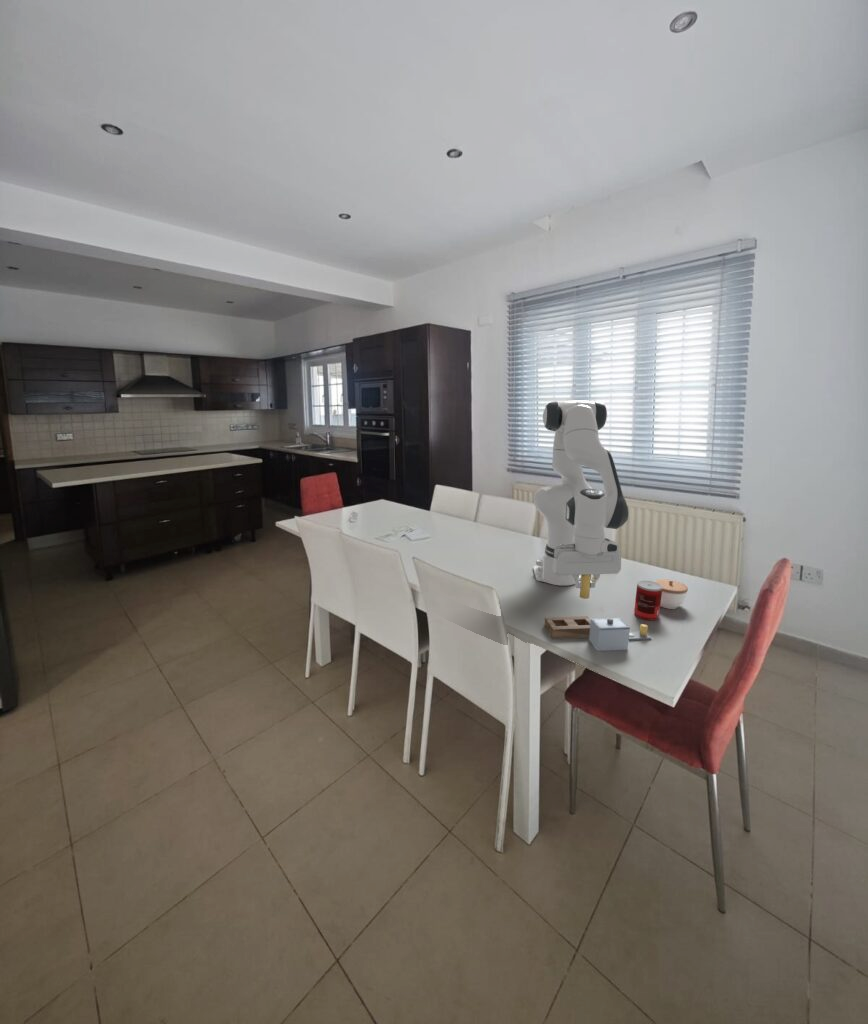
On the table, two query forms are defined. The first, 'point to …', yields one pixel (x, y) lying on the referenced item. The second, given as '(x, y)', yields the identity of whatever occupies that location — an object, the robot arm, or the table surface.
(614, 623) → the cover
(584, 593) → the peg
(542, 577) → the robot arm
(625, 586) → the table surface
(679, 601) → the lidded jar
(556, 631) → the socket board
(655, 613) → the canned food
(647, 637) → the plate
